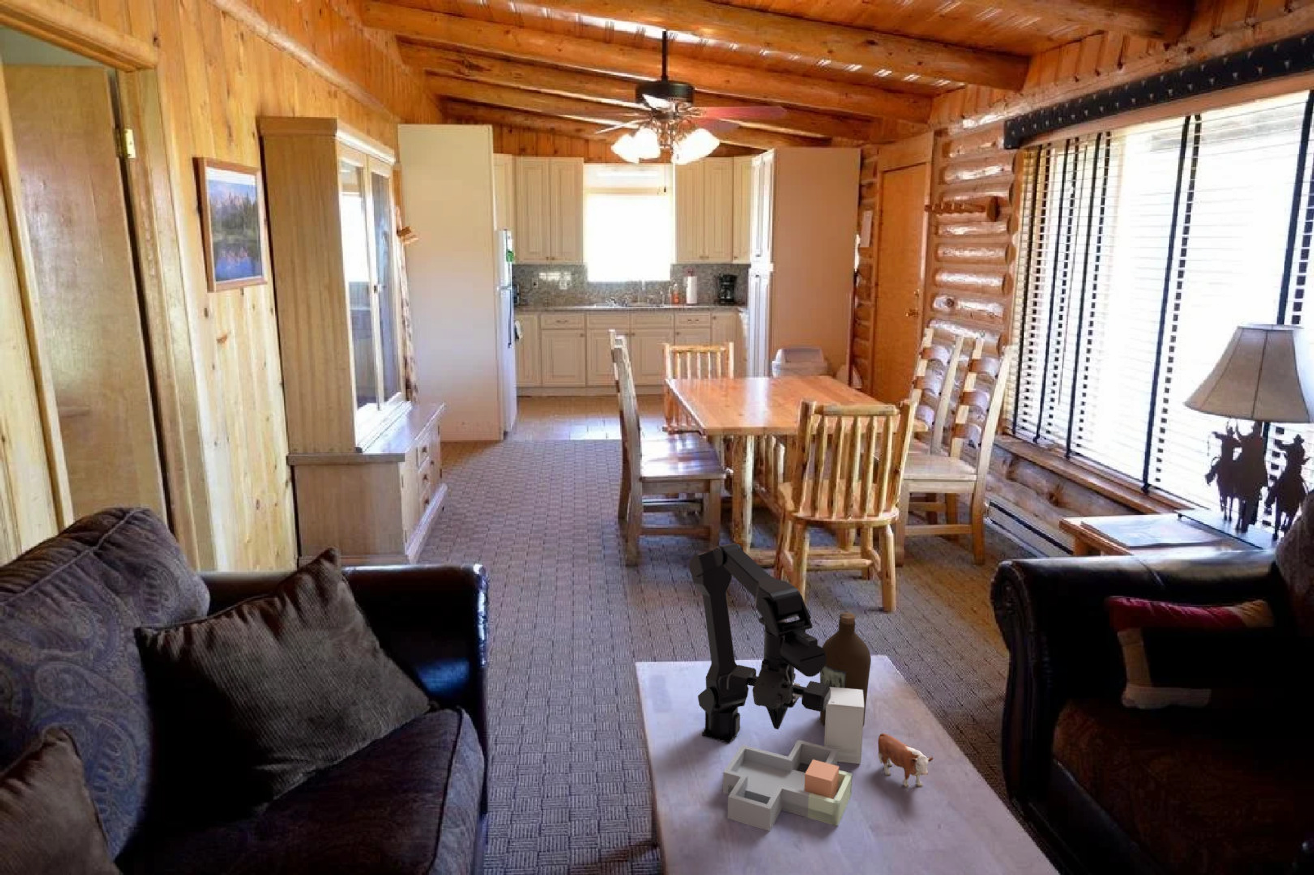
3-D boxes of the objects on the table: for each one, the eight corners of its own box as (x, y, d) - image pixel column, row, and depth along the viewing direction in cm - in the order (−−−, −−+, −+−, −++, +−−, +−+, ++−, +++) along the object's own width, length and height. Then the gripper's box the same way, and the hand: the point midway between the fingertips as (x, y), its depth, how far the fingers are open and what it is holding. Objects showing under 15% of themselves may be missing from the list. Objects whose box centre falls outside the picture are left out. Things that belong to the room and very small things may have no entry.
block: (804, 797, 161) (804, 773, 160) (811, 782, 165) (812, 759, 164) (830, 805, 159) (831, 781, 157) (837, 790, 163) (839, 766, 162)
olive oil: (840, 704, 196) (845, 600, 191) (877, 725, 188) (884, 617, 182) (806, 719, 190) (811, 613, 185) (843, 741, 182) (849, 631, 176)
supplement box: (861, 764, 174) (864, 707, 171) (823, 760, 175) (826, 703, 173) (860, 744, 181) (863, 688, 178) (824, 740, 183) (826, 685, 180)
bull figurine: (920, 802, 162) (922, 764, 161) (871, 765, 174) (873, 728, 172) (937, 796, 164) (940, 757, 163) (888, 759, 176) (890, 722, 174)
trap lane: (709, 813, 160) (710, 791, 159) (752, 747, 180) (753, 728, 179) (827, 849, 150) (829, 826, 149) (859, 775, 170) (860, 755, 169)
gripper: (716, 660, 159) (715, 737, 162) (816, 683, 151) (813, 763, 154) (738, 636, 168) (736, 708, 172) (833, 655, 160) (829, 731, 164)
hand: (776, 728), depth 165 cm, fingers closed
